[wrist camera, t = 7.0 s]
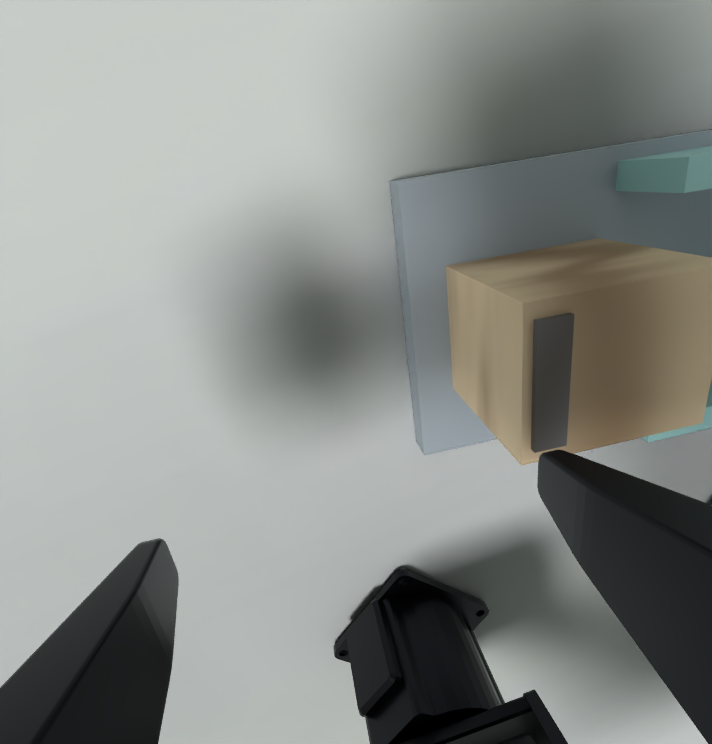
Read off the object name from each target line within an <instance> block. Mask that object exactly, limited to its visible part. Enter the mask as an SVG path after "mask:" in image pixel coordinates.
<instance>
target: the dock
mask: <svg viewBox="0 0 712 744" xmlns="http://www.w3.org/2000/svg"><path fill="white" fill-rule="evenodd" d="M389 183H390V192H391V202H392V212H393V221H394V231H395V241H396V250H397V260H398V270H399V279H400V289H401V299H402V309H403V318H404V328H405V338H406V347H407V357H408V367H409V376H410V386H411V396H412V405H413V415H414V425H415V434H416V442H417V443H418V445H419V447H420V449H421V450H422V452H423V454H424V455H429V454H433V453H438V452H442V451H447V450H451V449H455V448H460V447H464V446H469V445H473V444H478V443H482V442H486V441H491V440H495V439H497V438H496V436H495V435H494V434H493V433H492V432H491V431H490V430H489V428H488V427H487V426H486V425H485V424H484V423H483V422H482V421H481V419H480V418H479V417H478V416H477V415H476V414H475V413H474V411H473V410H472V409H471V408H470V407H469V406H468V405H467V404H466V402H465V401H464V400H463V399H462V398H461V397H460V396H459V394H458V393H457V392H456V391H455V390H454V389H453V379H452V362H451V345H450V328H449V312H448V295H447V278H446V266H448V265H453V264H459V263H464V262H470V261H475V260H481V259H486V258H492V257H497V256H503V255H508V254H514V253H519V252H525V251H530V250H536V249H541V248H547V247H552V246H558V245H563V244H569V243H574V242H580V241H585V240H591V239H596V238H601V239H606V240H612V241H618V242H624V243H630V244H635V245H641V246H647V247H653V248H659V249H664V250H670V251H676V252H682V253H688V254H693V255H699V256H705V257H711V258H712V129H710V130H704V131H698V132H692V133H686V134H679V135H673V136H667V137H661V138H654V139H648V140H642V141H636V142H629V143H623V144H617V145H611V146H605V147H598V148H592V149H586V150H580V151H573V152H567V153H561V154H555V155H549V156H542V157H536V158H530V159H524V160H517V161H511V162H505V163H499V164H492V165H486V166H480V167H474V168H468V169H461V170H455V171H449V172H443V173H436V174H430V175H424V176H418V177H412V178H405V179H399V180H393V181H389ZM708 428H712V379H711V384H710V389H709V394H708V399H707V404H706V408H705V413H704V418H703V423H701V424H697V425H693V426H688V427H684V428H680V429H675V430H671V431H667V432H662V433H658V434H654V435H650V436H645V437H641V438H642V439H643V440H644V441H646V442H647V443H648V442H652V441H657V440H661V439H665V438H669V437H674V436H678V435H682V434H686V433H691V432H695V431H699V430H703V429H708Z"/></svg>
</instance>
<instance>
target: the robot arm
mask: <svg viewBox="0 0 712 744" xmlns="http://www.w3.org/2000/svg"><path fill="white" fill-rule="evenodd" d="M538 491H539V495H540V497H541V499H542V501H543V502H544V504H545V506H546V508H547V509H548V511H549V513H550V515H551V516H552V518H553V520H554V522H555V523H556V525H557V527H558V528H559V530H560V532H561V534H562V535H563V537H564V539H565V541H566V542H567V544H568V546H569V548H570V549H571V551H572V553H573V554H574V556H575V558H576V559H577V561H578V563H579V564H580V566H581V567H582V568H583V570H584V571H585V573H586V574H587V576H588V577H589V578H590V580H591V581H592V583H593V584H594V585H595V587H596V588H597V590H598V591H599V592H600V594H601V595H602V597H603V598H604V599H605V601H606V602H607V603H608V605H609V606H610V608H611V609H612V610H613V612H614V613H615V615H616V616H617V617H618V619H619V620H620V622H621V623H622V624H623V626H624V627H625V628H626V630H627V631H628V633H629V634H630V635H631V637H632V638H633V640H634V641H635V642H636V644H637V645H638V647H639V648H640V649H641V651H642V652H643V653H644V655H645V656H646V658H647V659H648V660H649V662H650V663H651V665H652V666H653V667H654V669H655V670H656V672H657V673H658V674H659V676H660V677H661V678H662V680H663V681H664V683H665V684H666V685H667V687H668V688H669V690H670V691H671V692H672V694H673V695H674V697H675V698H676V699H677V701H678V702H679V703H680V705H681V706H682V708H683V709H684V710H685V712H686V713H687V715H688V716H689V717H690V719H691V720H692V721H693V723H694V724H695V726H696V727H697V728H698V730H699V731H700V733H701V734H702V735H703V737H704V738H705V740H706V741H707V742H708V744H712V505H710V504H707V503H704V502H701V501H699V500H696V499H693V498H691V497H688V496H685V495H683V494H680V493H677V492H675V491H672V490H669V489H666V488H664V487H661V486H658V485H656V484H653V483H650V482H648V481H645V480H642V479H639V478H637V477H634V476H631V475H629V474H626V473H623V472H621V471H618V470H615V469H612V468H610V467H607V466H604V465H602V464H599V463H596V462H594V461H591V460H588V459H586V458H583V457H580V456H577V455H575V454H572V453H569V452H567V451H564V450H560V449H558V450H553V451H548V452H544V453H542V454H541V455H540V456H539V461H538ZM402 579H404V580H402ZM178 582H179V580H178V572H177V568H176V566H175V563H174V561H173V559H172V556H171V554H170V551H169V549H168V546H167V544H166V542H165V541H164V540H163V539H160V538H159V539H154V540H150V541H145V542H142V543H139V544H138V545H137V546H136V547H135V548H134V549H133V550H132V551H131V552H130V553H129V554H128V555H127V556H126V557H125V558H124V559H123V560H122V561H121V562H120V563H119V565H118V566H117V567H116V568H115V569H114V570H113V571H112V572H111V573H110V574H109V575H108V576H107V577H106V578H105V579H104V580H103V581H102V582H101V583H100V584H99V585H98V586H97V587H96V588H95V590H94V591H93V592H92V593H91V594H90V595H89V596H88V597H87V598H86V599H85V600H84V601H83V602H82V603H81V604H80V605H79V606H78V607H77V608H76V609H75V610H74V611H73V612H72V614H71V615H70V616H69V617H68V618H67V619H66V620H65V621H64V622H63V623H62V624H61V625H60V626H59V627H58V628H57V629H56V630H55V631H54V632H53V633H52V634H51V635H50V636H49V637H48V639H47V640H46V641H45V642H44V643H43V644H42V645H41V646H40V647H39V648H38V649H37V650H36V651H35V652H34V653H33V654H32V655H31V656H30V657H29V658H28V659H27V660H26V661H25V662H24V664H23V665H22V666H21V667H20V668H19V669H18V670H17V671H16V672H15V673H14V674H13V675H12V676H11V677H10V678H9V679H8V680H7V681H6V682H5V683H4V684H3V685H2V686H1V687H0V744H158V741H159V735H160V730H161V725H162V719H163V714H164V708H165V703H166V698H167V692H168V687H169V681H170V675H171V669H172V660H173V649H174V636H175V623H176V610H177V596H178ZM488 612H489V610H488V608H487V606H486V604H485V602H484V601H482V600H479V599H477V598H474V597H472V596H469V595H467V594H465V593H462V592H460V591H457V590H455V589H452V588H450V587H448V586H445V585H443V584H440V583H438V582H435V581H433V580H430V579H428V578H426V577H423V576H421V575H418V574H416V573H413V572H411V571H409V570H405V569H402V570H398V571H396V572H395V573H394V574H393V575H392V577H391V578H390V579H389V580H388V581H387V582H386V584H385V585H384V586H383V587H382V588H381V590H380V591H379V592H378V593H377V594H376V596H375V597H374V598H373V599H372V600H371V602H370V603H369V604H368V605H367V606H366V607H365V609H364V610H363V611H362V612H361V613H360V615H359V616H358V617H357V618H356V619H355V621H354V622H353V623H352V624H351V625H350V627H349V628H348V629H347V630H346V631H345V633H344V634H343V635H342V636H341V637H340V638H339V640H338V641H337V642H336V643H335V645H334V655H335V657H336V658H337V659H340V660H343V661H346V662H350V663H351V669H352V675H353V681H354V687H355V693H356V699H357V705H358V710H359V713H360V715H361V716H362V717H365V718H366V724H367V729H368V735H369V741H370V744H568V743H567V741H566V740H565V738H564V736H563V735H562V733H561V731H560V730H559V728H558V727H557V725H556V723H555V722H554V720H553V718H552V717H551V715H550V713H549V712H548V710H547V709H546V707H545V705H544V704H543V702H542V700H541V699H540V697H539V695H538V694H537V692H536V691H535V690H532V691H529V692H526V693H524V694H523V697H520V698H518V699H515V700H512V701H509V702H507V703H505V702H504V700H503V698H502V695H501V693H500V691H499V689H498V686H497V684H496V682H495V680H494V678H493V675H492V673H491V671H490V669H489V666H488V664H487V662H486V660H485V658H484V655H483V653H482V651H481V649H480V646H479V644H478V642H477V640H476V638H475V635H474V633H473V630H474V629H475V628H476V627H477V626H478V624H479V623H480V622H481V621H482V620H483V619H484V618H485V617H486V616H487V615H488Z"/></svg>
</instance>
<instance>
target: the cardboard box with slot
mask: <svg viewBox="0 0 712 744" xmlns="http://www.w3.org/2000/svg"><path fill="white" fill-rule="evenodd" d="M446 278H447V295H448V312H449V328H450V345H451V362H452V379H453V389H454V390H455V391H456V392H457V393H458V394H459V396H460V397H461V398H462V399H463V400H464V401H465V402H466V404H467V405H468V406H469V407H470V408H471V409H472V410H473V411H474V413H475V414H476V415H477V416H478V417H479V418H480V419H481V421H482V422H483V423H484V424H485V425H486V426H487V427H488V428H489V430H490V431H491V432H492V433H493V434H494V435H495V436H496V438H497V439H498V440H499V441H500V442H501V443H502V444H503V445H504V447H505V448H506V449H507V450H508V451H509V452H510V453H511V455H512V456H513V457H514V458H515V459H516V460H517V461H518V462H519V464H520V465H525V464H529V463H534V462H538V461H539V456H540V455H541V454H542V453H544V452H548V451H553V450H558V449H560V450H564V451H567V452H569V453H577V452H581V451H585V450H590V449H594V448H598V447H602V446H607V445H611V444H615V443H620V442H624V441H628V440H632V439H637V438H641V437H645V436H650V435H654V434H658V433H662V432H667V431H671V430H675V429H680V428H684V427H688V426H693V425H697V424H701V423H703V418H704V413H705V408H706V404H707V399H708V394H709V389H710V384H711V379H712V258H711V257H705V256H699V255H693V254H688V253H682V252H676V251H670V250H664V249H659V248H653V247H647V246H641V245H635V244H630V243H624V242H618V241H612V240H606V239H601V238H596V239H591V240H585V241H580V242H574V243H569V244H563V245H558V246H552V247H547V248H541V249H536V250H530V251H525V252H519V253H514V254H508V255H503V256H497V257H492V258H486V259H481V260H475V261H470V262H464V263H459V264H453V265H448V266H446Z"/></svg>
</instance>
